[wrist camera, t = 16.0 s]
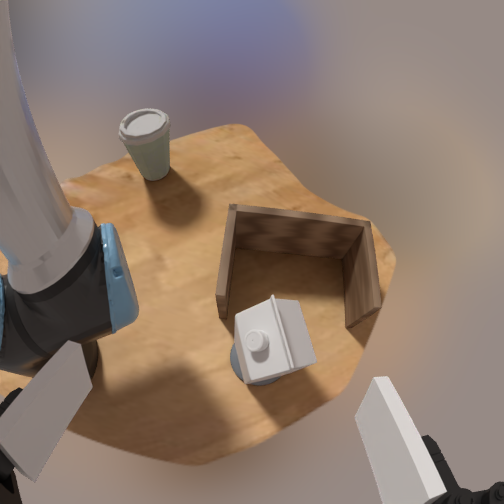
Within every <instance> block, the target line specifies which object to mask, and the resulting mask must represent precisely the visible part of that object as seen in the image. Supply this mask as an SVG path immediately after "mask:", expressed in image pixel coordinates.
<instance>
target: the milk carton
mask: <svg viewBox="0 0 504 504" xmlns="http://www.w3.org/2000/svg"><path fill="white" fill-rule="evenodd" d="M234 342H235V347H236V351H237V355H238V360H239V364H240V368H241V372H242V376H243V380H244V383H245V384H250V383H254V382H258V381H262V380H266V379H271V378H274V377H278V376H282V375H286V374H289V373H292V372H295V371H297V370H300V369H302V368H305V367H307V366H310V365H312V364H314V363H317V360H316V356H315V353H314V350H313V346H312V343H311V340H310V336H309V333H308V330H307V327H306V323H305V320H304V317H303V314H302V310H301V307H300V304H299V301H297V300H285V299H275V298H274V295H271V298H270V299H268V300H266V301H264V302H262V303H259V304H257V305H255V306H253V307H251V308H248V309H246V310H244V311H242V312H240V313H237V314H236V315H235V336H234Z"/></svg>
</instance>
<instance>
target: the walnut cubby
mask: <svg viewBox="0 0 504 504" xmlns="http://www.w3.org/2000/svg"><path fill="white" fill-rule="evenodd" d="M235 248H240V249H250V250H260V251H269V252H279V253H288V254H298V255H308V256H317V257H327V258H336V259H342V266H343V281H344V300H345V328H352V327H354V326H355V325H357V324H358V323H360V322H361V321H363V320H364V319H366V318H367V317H369V316H370V315H372V314H373V313H375V312H376V311H377V310H379V309H380V308H382V307H381V296H380V286H379V277H378V269H377V261H376V254H375V248H374V241H373V235H372V229H371V224H370V221H364V220H358V219H351V218H345V217H338V216H331V215H323V214H316V213H308V212H300V211H292V210H284V209H275V208H266V207H257V206H247V205H237V204H229V210H228V216H227V222H226V228H225V234H224V241H223V247H222V254H221V260H220V267H219V273H218V280H217V287H216V294H215V295H216V301H217V307H218V313H219V318H222V319H227V312H228V304H229V296H230V288H231V279H232V271H233V263H234V255H235Z"/></svg>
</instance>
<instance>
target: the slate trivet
mask: <svg viewBox="0 0 504 504" xmlns="http://www.w3.org/2000/svg"><path fill="white" fill-rule="evenodd" d="M230 360H231V365H232V368H233V370H234V372H235V373H236V375H237V376H238V377H239V378H240V379H242V380H243V376H242V372H241V368H240V364H239V360H238V355H237V351H236V347H235V343H234V344H233V346H232V349H231V354H230ZM280 377H281V376H278V377H274V378H271V379H266V380H262V381H258V382H254V383H250V384H252V385H266V384H270V383H272V382H274V381H276V380H277V379H279V378H280ZM243 381H244V380H243Z"/></svg>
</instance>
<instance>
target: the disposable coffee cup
mask: <svg viewBox="0 0 504 504" xmlns="http://www.w3.org/2000/svg"><path fill="white" fill-rule="evenodd" d="M169 128H170V119H169V117H168V115H166V114H165V113H163V112H161V111H160V110H158V109H150V108H148V109H141V110H137V111H135V112H132V113H130V114H128V115H127V116H126V117H125V118H124V119H123V120H122V121H121V123H120V130H119V139H120V140H121V141H122V142H123V143H124V145H125V146H126V148H127V150H128V152H129V154H130V155H131V157H132V159H133V161H134V162H135V164H136V166H137V168H138V169H139V171H140V173H141V175H142V176H143V177H144V178H146V179H147V180H151V181H155V180H160V179H161V178H163V177H164V176H166V175H167V173H168V171H169V169H170V153H169Z"/></svg>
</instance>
